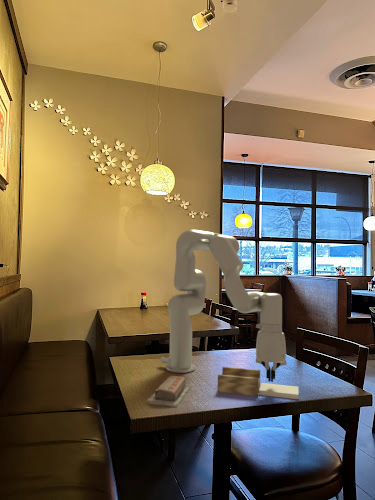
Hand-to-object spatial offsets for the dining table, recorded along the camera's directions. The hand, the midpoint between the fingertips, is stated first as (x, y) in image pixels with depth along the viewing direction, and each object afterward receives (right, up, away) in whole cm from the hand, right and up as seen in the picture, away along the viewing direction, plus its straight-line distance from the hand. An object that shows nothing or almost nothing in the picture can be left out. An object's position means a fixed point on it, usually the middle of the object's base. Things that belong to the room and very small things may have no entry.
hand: (270, 380), depth 125 cm
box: (-11, -4, +3) cm, 12 cm away
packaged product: (-35, -4, -5) cm, 36 cm away
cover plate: (+3, -5, -1) cm, 5 cm away
